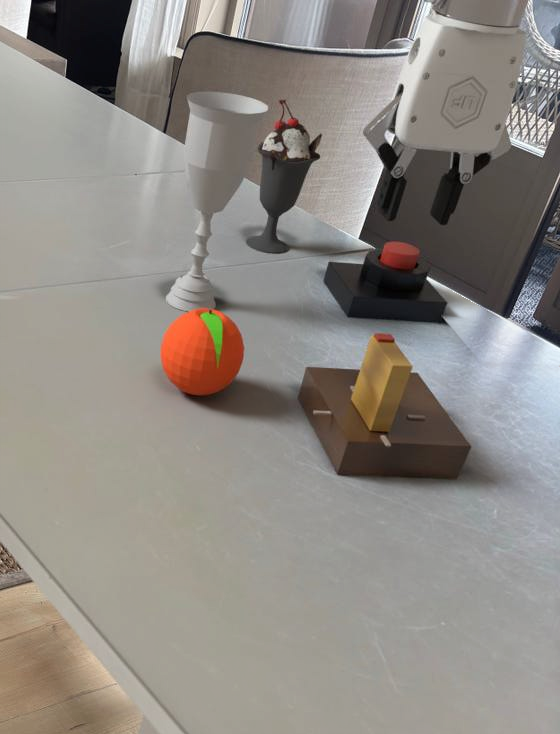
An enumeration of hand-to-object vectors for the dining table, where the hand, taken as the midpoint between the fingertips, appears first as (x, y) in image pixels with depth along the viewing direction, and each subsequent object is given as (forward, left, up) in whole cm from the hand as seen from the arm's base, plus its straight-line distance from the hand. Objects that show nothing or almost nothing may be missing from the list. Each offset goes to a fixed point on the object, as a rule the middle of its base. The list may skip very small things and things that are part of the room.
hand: (412, 216), depth 98 cm
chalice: (+22, +4, -9) cm, 24 cm away
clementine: (+25, +23, -9) cm, 35 cm away
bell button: (0, 0, -5) cm, 5 cm away
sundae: (+10, -13, -9) cm, 19 cm away
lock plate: (+11, +29, -8) cm, 32 cm away
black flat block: (+1, +1, -8) cm, 9 cm away
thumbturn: (+13, +31, -5) cm, 34 cm away
